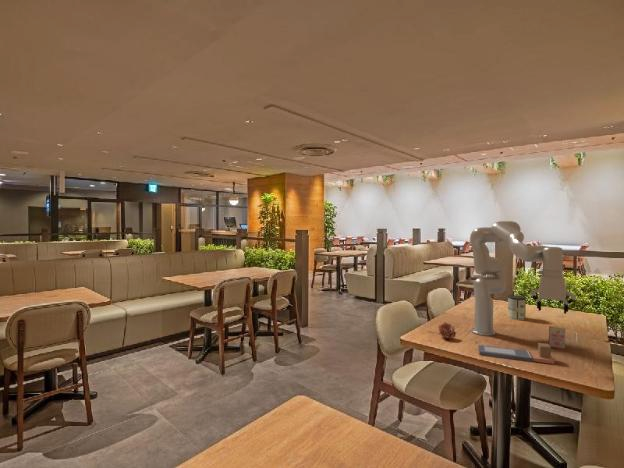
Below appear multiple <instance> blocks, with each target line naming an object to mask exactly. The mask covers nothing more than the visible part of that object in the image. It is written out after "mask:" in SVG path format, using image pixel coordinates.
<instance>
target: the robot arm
mask: <svg viewBox="0 0 624 468" xmlns="http://www.w3.org/2000/svg"><path fill="white" fill-rule="evenodd" d="M521 229H522V228H521V226H520V224H519V223H517V222H516V221H513V220H511V221H510V220H508V221H507V220H504V221H503V220H501V221H500V220H499V221H496V222H495V223H493V224H492V225H491V227H490V226H489V227H486V226H484V227H477V228H474V229H473V230H472V232H471V233H470V236H469V240H470V241H469V243H470V246H471V250H472V257H473V259H472V260H473V269H474V271H475V273H476V274H477V275H479V276H480V275H481V276H482V277H478V278H476V279H475V280H474V281H473V285H472V286H473V291H474V292H473V293H474V325H473V326H474V327H472V328H471V330H470V331H471V332H472V333H473V334H476V335H478V336H479V335H480V336H486V337H487V336H488V337H490V336H491V337H492V336H495V335H496V334H497V331H496V330H494V300H493V298H492V296H491V295H495V294H496V295H497V294H502V293H504V292H505V290H506V277H505V275H506V274H505V268H504V264H503V262H502V261H501V260H500V259H499V258H497V257H491V256H490V251H489V248H488V246H487V245H486V244H485V243H500V242H504V243H506V244H507V245H508V247H509V249H510V252H511V253H512V254H513V255H514V256H515V257H516V258H518V259H519V260H521V261H523V262H527V263H533V262H537V263H538V262H542V270H539V271H538V274H540V275H541V276H540V278H539V281H538V282H539V284H538V288H536V289H532V290H530V292H529V293H530V295H531V297H532V298H533V299H534V301H535V302H536V309H538V312H541V311H542V301H541V300H542V299H543V300H552V301H553V300H554V301H562V302H563V303H564V305H563V314H564V315H566V314H567V313H568V312H569V305H570V304H572V303H573V302H574V301H575V299H576V297H577V295H576V294H574V293H572V292H570V291H568V290H567V287H566V284H567V283H566V278H565V277H563V276H564V274H563V273H564V272H563V266H564V263H563V261H564V260H563V259H564V258H563V256H564V252H563V248H562V247H560V246H559V247H558V246H547V245H526V244H525V243H524V240H525V236H524V233H523V232H521ZM489 275H490V276H489ZM483 276H484V277H483ZM485 276H486V277H485ZM536 293H538V297H537V295H536ZM567 296H568V297H569V296H570V299H568V300H567V298H566V297H567Z"/></svg>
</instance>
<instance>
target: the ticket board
mask: <svg viewBox="0 0 624 468" xmlns="http://www.w3.org/2000/svg"><path fill="white" fill-rule="evenodd" d="M477 347H478V354H479V355H480V356H488V357H492V358H493V357H494V358H501V359H502V358H503V359H510V360H517V361H525V362H531V363H532V362H534V361H533V358H532V356H531V354H530V350H524V349H523V350H522V349H515V348H507V347H500V346H499V347H498V346H491V345H483V344H482V345H481V344H478V346H477Z"/></svg>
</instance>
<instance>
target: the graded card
mask: <svg viewBox="0 0 624 468" xmlns="http://www.w3.org/2000/svg"><path fill="white" fill-rule="evenodd" d="M566 332H567V333H568V332H569V331H567V330H565V333H566ZM571 333H575V334H576V339H578V333H577V332H575V331H574V332H573V331H571ZM565 341H567V339H566V338H565ZM569 341H570V342H573V340H572V339H571V340H570V339H569ZM576 342H577V343H578V340H575V343H576Z"/></svg>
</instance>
